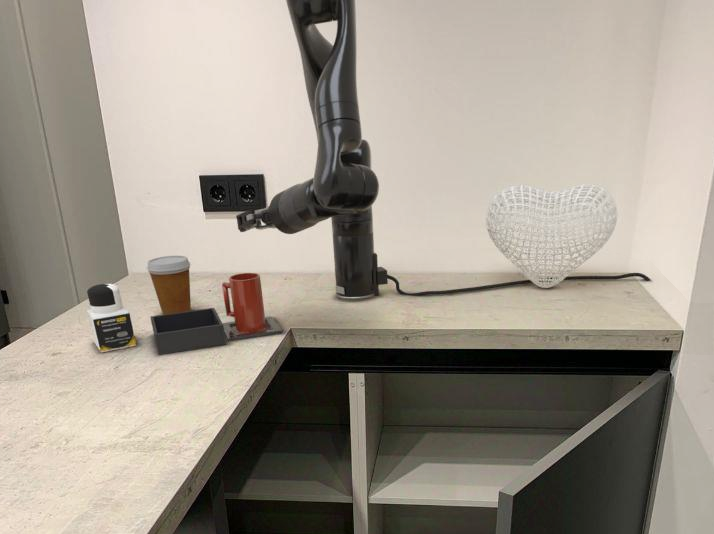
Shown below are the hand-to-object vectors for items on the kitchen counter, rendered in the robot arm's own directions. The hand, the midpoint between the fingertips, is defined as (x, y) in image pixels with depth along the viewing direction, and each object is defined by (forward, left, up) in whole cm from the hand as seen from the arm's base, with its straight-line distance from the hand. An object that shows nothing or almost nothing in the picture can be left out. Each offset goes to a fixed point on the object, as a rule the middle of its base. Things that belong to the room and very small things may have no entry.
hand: (260, 225), depth 146 cm
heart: (-64, +2, -20) cm, 67 cm away
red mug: (+6, 0, -20) cm, 21 cm away
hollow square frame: (+5, +1, -20) cm, 21 cm away
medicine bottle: (+32, -2, -20) cm, 38 cm away
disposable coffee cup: (+18, -19, -20) cm, 33 cm away
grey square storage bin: (+18, +2, -20) cm, 27 cm away
